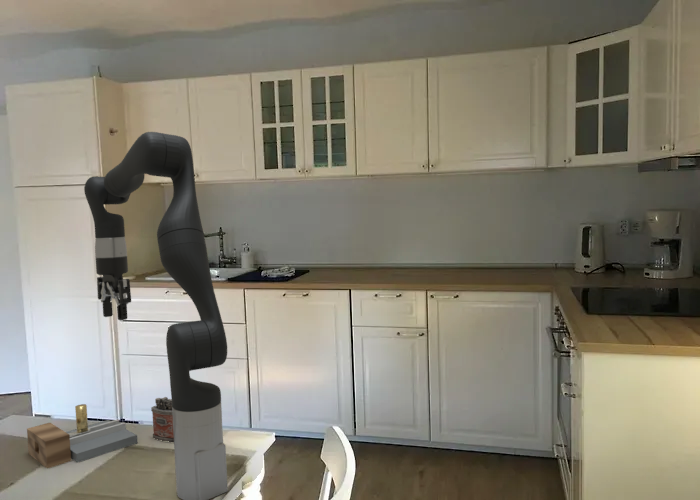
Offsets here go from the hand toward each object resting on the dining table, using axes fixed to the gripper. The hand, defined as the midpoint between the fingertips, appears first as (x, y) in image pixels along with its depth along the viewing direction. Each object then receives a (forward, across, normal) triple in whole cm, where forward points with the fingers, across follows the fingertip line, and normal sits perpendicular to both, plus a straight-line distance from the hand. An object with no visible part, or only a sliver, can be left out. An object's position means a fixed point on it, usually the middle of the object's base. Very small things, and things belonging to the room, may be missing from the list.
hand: (115, 318), depth 149 cm
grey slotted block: (+28, -7, +10) cm, 31 cm away
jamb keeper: (+28, -7, +20) cm, 35 cm away
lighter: (+28, -18, -3) cm, 34 cm away
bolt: (+26, -7, +15) cm, 31 cm away
